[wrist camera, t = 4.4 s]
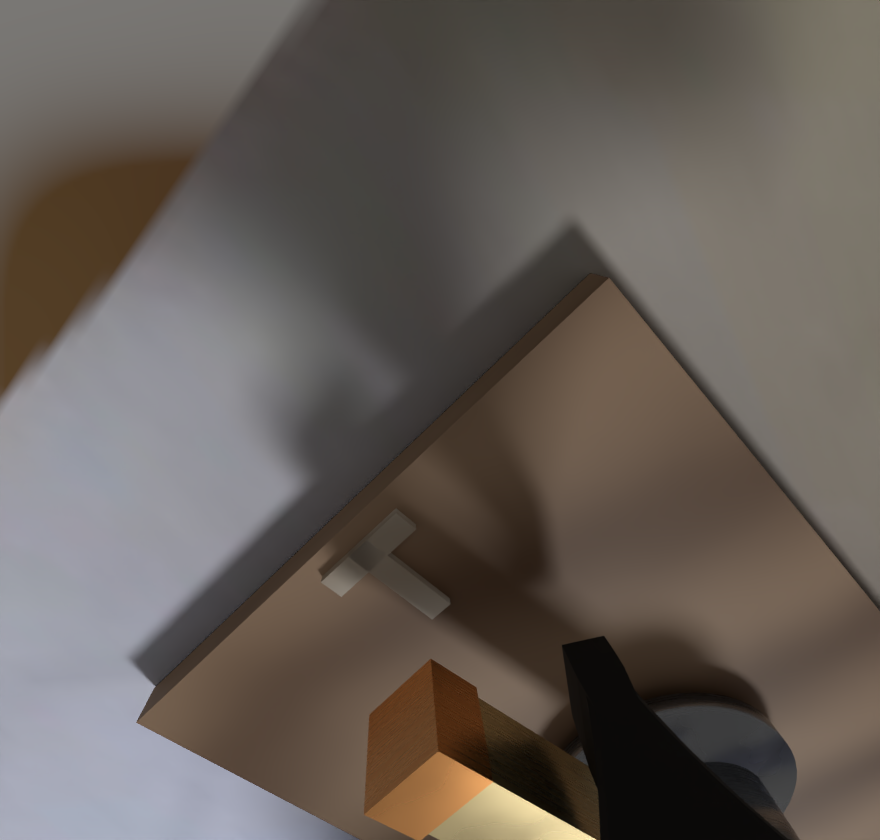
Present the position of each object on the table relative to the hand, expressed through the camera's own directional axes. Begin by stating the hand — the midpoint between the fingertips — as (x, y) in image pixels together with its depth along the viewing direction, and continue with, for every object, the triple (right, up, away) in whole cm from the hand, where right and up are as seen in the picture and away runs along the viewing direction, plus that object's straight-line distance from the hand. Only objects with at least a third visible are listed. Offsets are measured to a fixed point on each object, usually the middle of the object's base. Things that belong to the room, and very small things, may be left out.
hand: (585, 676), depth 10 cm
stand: (+2, -4, +5) cm, 7 cm away
